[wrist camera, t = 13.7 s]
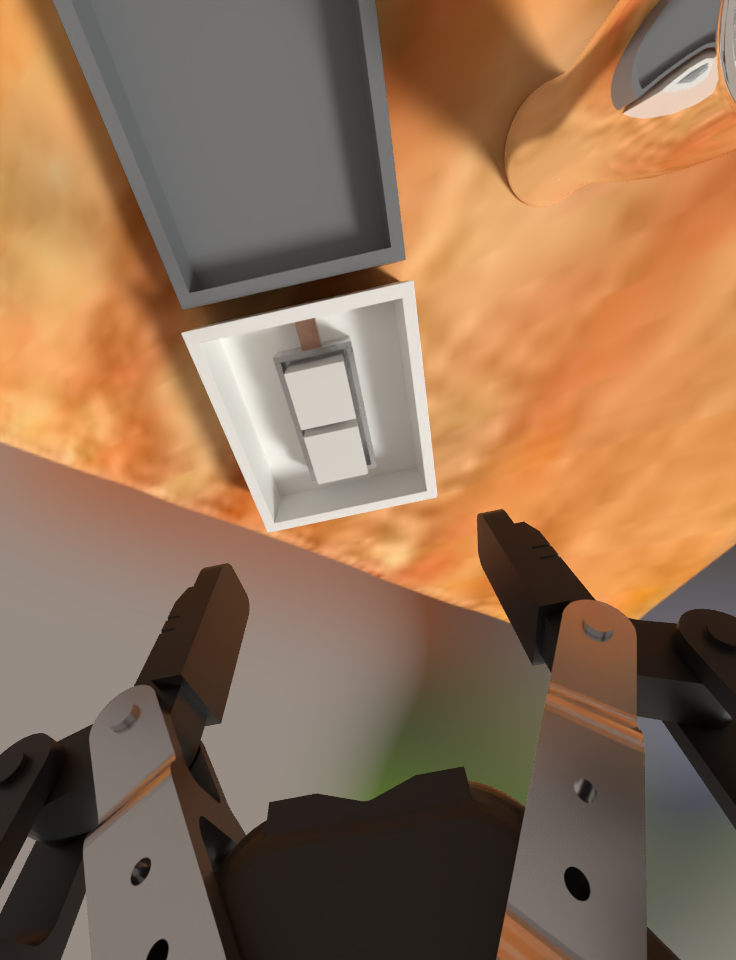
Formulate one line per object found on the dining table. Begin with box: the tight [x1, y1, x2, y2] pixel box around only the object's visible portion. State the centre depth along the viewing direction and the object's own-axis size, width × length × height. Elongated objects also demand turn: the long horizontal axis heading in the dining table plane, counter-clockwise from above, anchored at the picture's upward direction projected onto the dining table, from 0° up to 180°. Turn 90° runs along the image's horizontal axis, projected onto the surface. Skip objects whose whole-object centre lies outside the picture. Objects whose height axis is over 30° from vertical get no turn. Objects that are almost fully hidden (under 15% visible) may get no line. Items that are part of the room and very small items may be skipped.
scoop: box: [273, 318, 377, 481], centre depth 27 cm, size 12×6×2 cm, turn 11°
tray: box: [53, 0, 406, 310], centre depth 19 cm, size 18×15×3 cm
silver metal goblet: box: [504, 0, 736, 207], centre depth 16 cm, size 7×7×15 cm
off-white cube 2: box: [304, 411, 368, 484], centre depth 28 cm, size 4×4×4 cm
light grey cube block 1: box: [284, 351, 356, 430], centre depth 25 cm, size 4×4×4 cm
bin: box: [181, 281, 437, 533], centre depth 27 cm, size 16×15×5 cm
